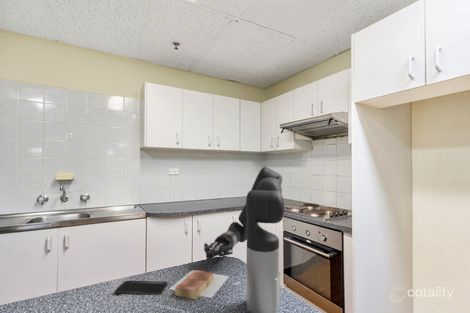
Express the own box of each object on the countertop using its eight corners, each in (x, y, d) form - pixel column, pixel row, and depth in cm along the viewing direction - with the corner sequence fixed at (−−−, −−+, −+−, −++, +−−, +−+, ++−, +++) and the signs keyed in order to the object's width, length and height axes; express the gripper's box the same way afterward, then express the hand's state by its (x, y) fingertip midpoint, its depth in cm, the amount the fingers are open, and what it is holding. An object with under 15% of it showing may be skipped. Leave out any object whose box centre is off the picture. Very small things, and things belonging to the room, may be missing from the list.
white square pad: (229, 277, 88) (229, 276, 88) (211, 299, 74) (211, 298, 74) (192, 271, 93) (192, 269, 93) (168, 290, 79) (168, 289, 79)
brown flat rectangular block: (213, 273, 85) (195, 291, 73) (213, 280, 85) (195, 299, 73) (195, 269, 87) (175, 287, 75) (195, 276, 87) (175, 295, 75)
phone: (125, 280, 83) (168, 281, 83) (125, 284, 83) (168, 285, 83) (112, 292, 76) (160, 294, 75) (112, 296, 76) (160, 297, 75)
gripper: (212, 231, 108) (192, 244, 91) (240, 234, 103) (225, 248, 87) (212, 248, 108) (192, 264, 91) (240, 252, 103) (225, 269, 87)
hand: (208, 256), depth 89 cm, fingers closed
